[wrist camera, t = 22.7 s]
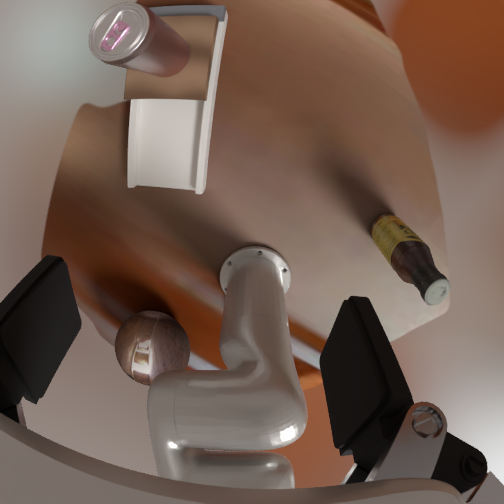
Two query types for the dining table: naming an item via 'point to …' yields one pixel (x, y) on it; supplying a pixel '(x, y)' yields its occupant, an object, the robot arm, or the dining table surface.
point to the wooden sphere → (151, 346)
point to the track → (175, 124)
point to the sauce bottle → (409, 257)
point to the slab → (195, 72)
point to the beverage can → (138, 41)
